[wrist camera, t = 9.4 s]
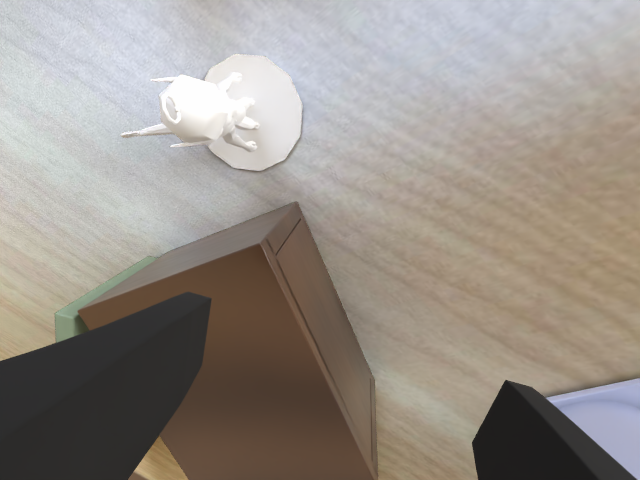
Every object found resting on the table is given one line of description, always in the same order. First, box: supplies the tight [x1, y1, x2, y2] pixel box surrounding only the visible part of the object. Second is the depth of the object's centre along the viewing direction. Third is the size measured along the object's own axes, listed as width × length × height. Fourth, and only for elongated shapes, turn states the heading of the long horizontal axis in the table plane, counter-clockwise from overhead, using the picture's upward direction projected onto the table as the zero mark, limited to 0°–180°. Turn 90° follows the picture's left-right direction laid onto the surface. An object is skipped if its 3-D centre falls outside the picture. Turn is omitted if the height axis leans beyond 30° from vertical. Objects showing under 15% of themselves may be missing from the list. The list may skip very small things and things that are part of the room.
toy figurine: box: [121, 54, 303, 171], centre depth 13 cm, size 5×8×7 cm, turn 100°
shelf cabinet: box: [77, 202, 378, 480], centre depth 17 cm, size 12×8×6 cm
